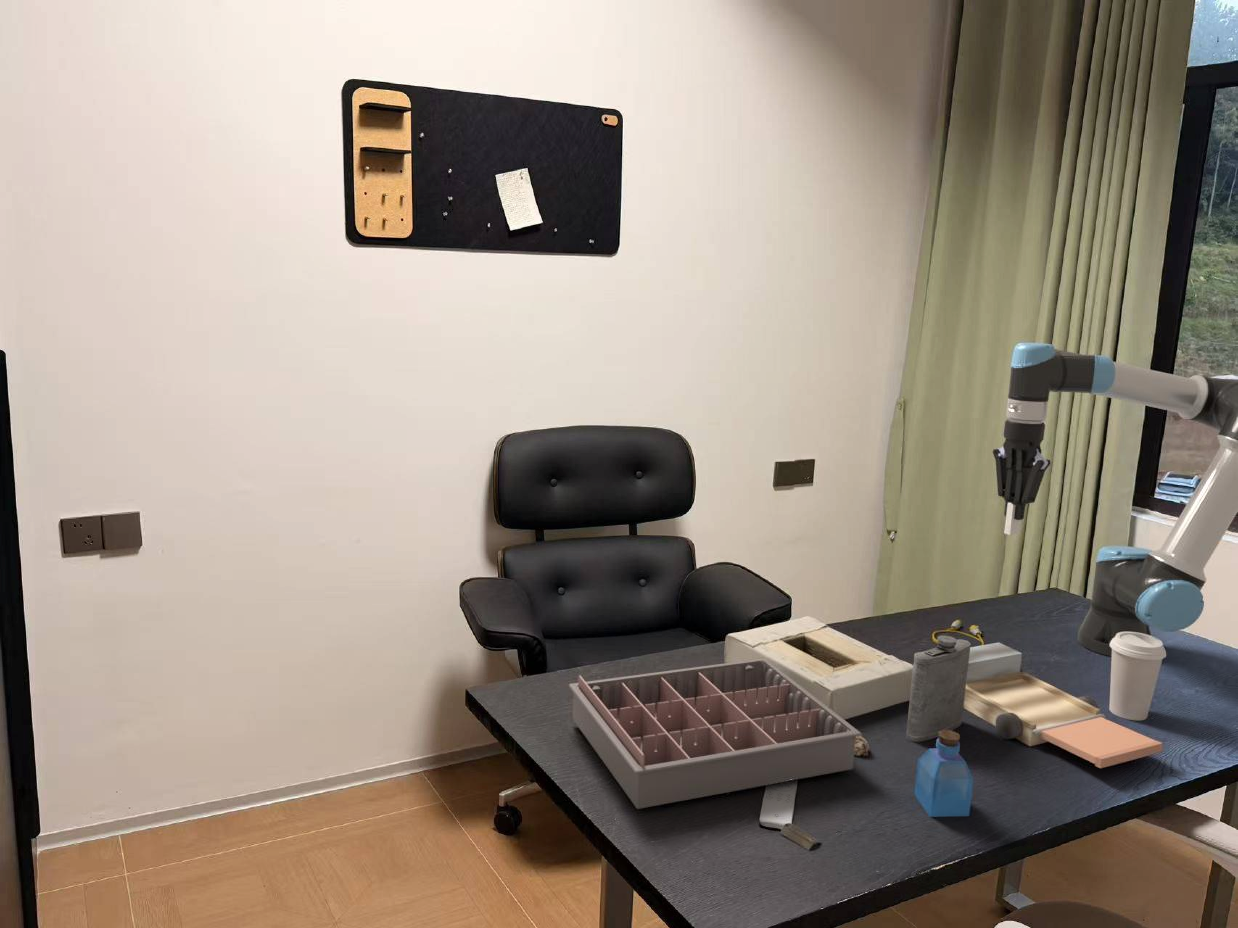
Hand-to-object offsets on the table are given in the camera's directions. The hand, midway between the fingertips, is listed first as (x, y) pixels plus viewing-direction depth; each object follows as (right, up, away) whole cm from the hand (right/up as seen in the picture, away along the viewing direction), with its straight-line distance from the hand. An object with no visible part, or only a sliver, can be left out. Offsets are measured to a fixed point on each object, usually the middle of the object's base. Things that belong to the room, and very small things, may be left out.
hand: (1011, 533), depth 200 cm
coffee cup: (+17, -34, -13) cm, 40 cm away
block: (-54, -41, -57) cm, 89 cm away
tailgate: (0, -32, -25) cm, 41 cm away
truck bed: (-5, -33, -14) cm, 36 cm away
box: (-41, -30, -3) cm, 51 cm away
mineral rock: (-41, -35, -29) cm, 62 cm away
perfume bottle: (-30, -39, -48) cm, 69 cm away
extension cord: (-3, -26, +22) cm, 34 cm away
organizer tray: (-66, -35, -33) cm, 81 cm away
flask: (-23, -34, -23) cm, 47 cm away
